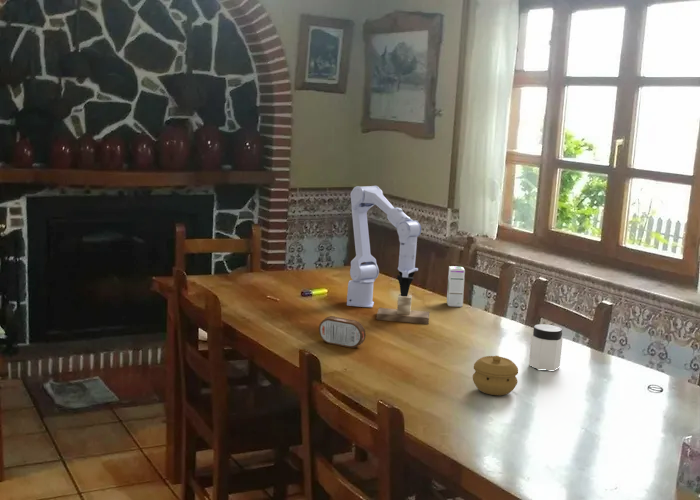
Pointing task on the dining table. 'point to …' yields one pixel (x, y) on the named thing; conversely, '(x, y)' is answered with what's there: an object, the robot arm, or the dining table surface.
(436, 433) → the dining table surface
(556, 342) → the jar
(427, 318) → the walnut slab
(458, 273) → the syrup box
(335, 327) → the tin
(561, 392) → the dining table surface
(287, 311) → the dining table surface
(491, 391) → the pot
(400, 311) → the oak block
